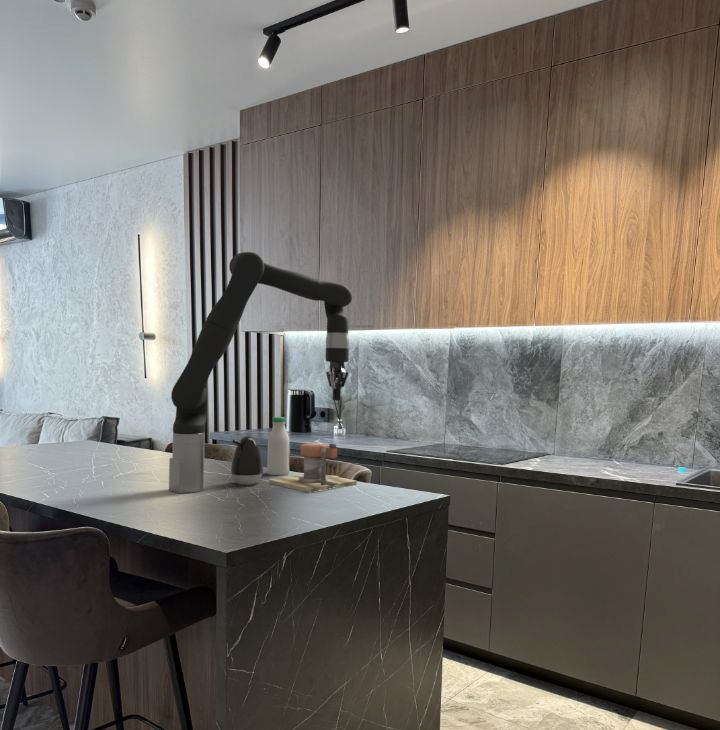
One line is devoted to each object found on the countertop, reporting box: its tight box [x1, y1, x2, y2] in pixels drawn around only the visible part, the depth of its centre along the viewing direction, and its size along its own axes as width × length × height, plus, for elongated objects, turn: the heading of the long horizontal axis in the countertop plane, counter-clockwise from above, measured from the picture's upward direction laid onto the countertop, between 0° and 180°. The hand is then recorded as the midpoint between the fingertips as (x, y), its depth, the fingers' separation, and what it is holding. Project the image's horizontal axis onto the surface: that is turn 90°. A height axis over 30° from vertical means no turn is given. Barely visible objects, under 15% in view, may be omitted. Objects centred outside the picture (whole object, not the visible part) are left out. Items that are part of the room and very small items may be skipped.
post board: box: [268, 448, 358, 493], centre depth 191 cm, size 20×20×12 cm
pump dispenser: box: [230, 436, 264, 486], centre depth 189 cm, size 10×10×15 cm
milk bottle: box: [266, 416, 291, 476], centre depth 209 cm, size 8×8×20 cm
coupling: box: [299, 443, 338, 459], centre depth 189 cm, size 14×8×4 cm, turn 46°
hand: (336, 400), depth 193 cm, fingers closed
